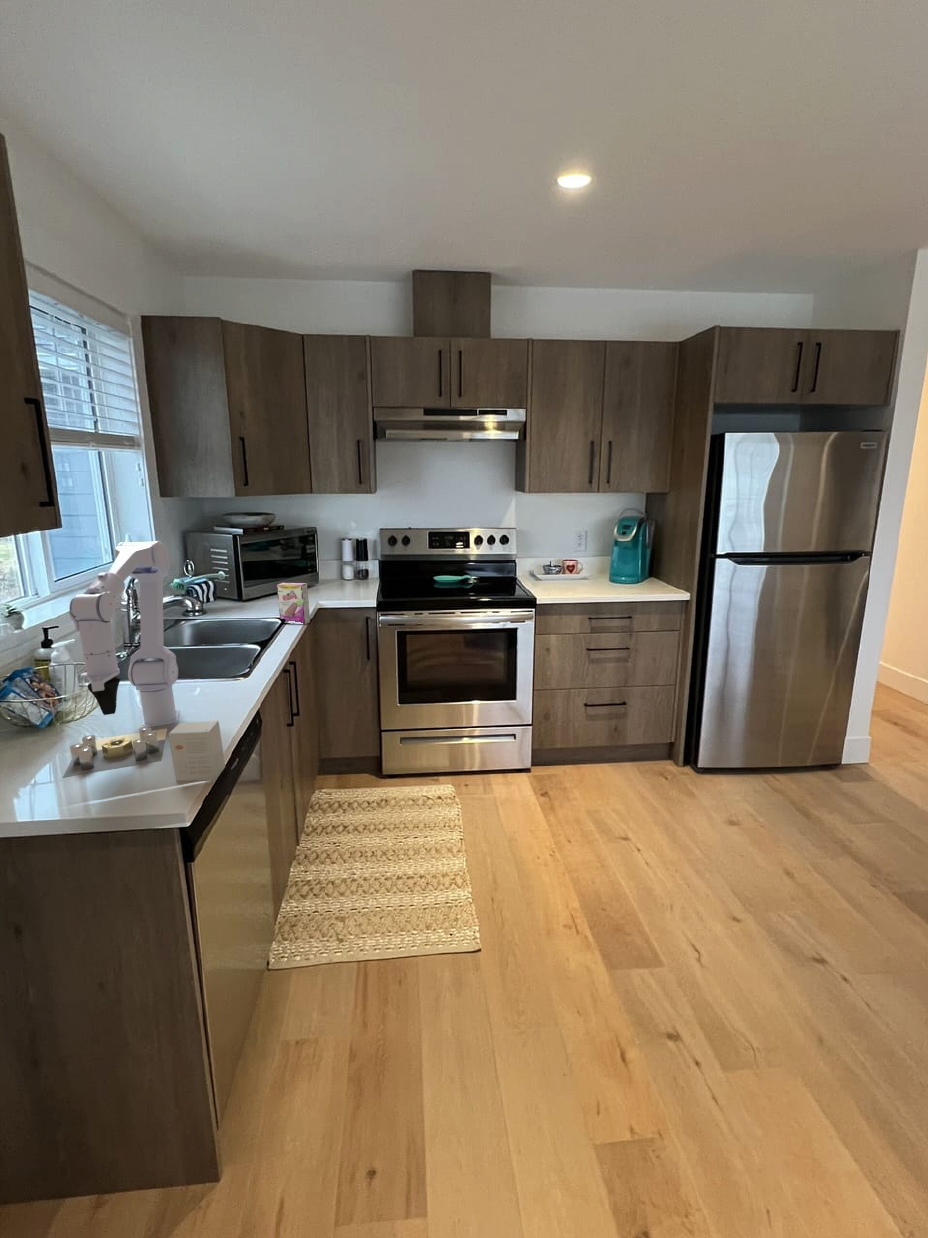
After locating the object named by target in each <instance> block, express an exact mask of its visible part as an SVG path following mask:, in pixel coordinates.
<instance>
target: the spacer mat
mask: <svg viewBox="0 0 928 1238" xmlns="http://www.w3.org/2000/svg"><path fill="white" fill-rule="evenodd" d="M151 732H156V733H157V739H158V745H159V751H158V752H156V753H152V754H148V753H147V755H148V758H147V759H145V760H142V761H136V760H135V755H134V749H133V752H131V753H130V754H128V755H127V756H125V757H121V758H115V759H108V758H106V757H104V756H103V750H102V745H103V744H104V743H106V742H108V741H110V740H112V739H118V738H125V737H126V738H128V739H130V740H132V742H133V741H134V740H137V739H140V735H139V732H134V733H129V734H123V735H117V736H109V737H102V738H97V739H96V738H95V741H96V746H97V752H98V754H97V755H95V756H93V760H94V765H95V766H94V767H93V768H92V769H89V770H82V769H81V765H80V766H74V765H73V761H72V759H71V760H70V762H69V765H67V767H66V770H65V772H64V774H63V775H62V778H63V779H64V778H69V777H74V776H75V777H76V776H80V775H87V774H93V773H98V772H104V771H109V770H116V769H122V768H128V767H134V766H139V765H145V764H151V763H155V762H161V761H162V758H163V753H164V749H165V748H164V747H165V743H166V738H167V734H168V733H167V732H168V728H162V729H161V728H160V729H154V730H151ZM80 743H82V744H83V742H82V741H80ZM132 746H133V743H132Z"/></svg>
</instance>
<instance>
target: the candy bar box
mask: <svg viewBox="0 0 928 1238" xmlns="http://www.w3.org/2000/svg"><path fill="white" fill-rule="evenodd" d="M276 588H277V599H278V601H277V602H278V610H279V620H280V619H285V620H288V621H295V622H301V623H303V624H304V625H303V626H305V625H308V624H310V623H311V613H310V603H309V592H308V583H305V582H304V583H303V582H281V583H278V584H276Z"/></svg>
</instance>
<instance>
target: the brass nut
mask: <svg viewBox="0 0 928 1238" xmlns="http://www.w3.org/2000/svg"><path fill="white" fill-rule="evenodd" d="M102 750H103V756H104V757H106V758H108V759H115V758H121V757H125V756H127V755H128V754H130V753H131V752H133V746H132V740H130V739H128V738H126V737H125V738H118V739H112V740H110V741H108V742H106V743H104V744H103V745H102Z"/></svg>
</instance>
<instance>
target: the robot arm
mask: <svg viewBox="0 0 928 1238" xmlns="http://www.w3.org/2000/svg"><path fill="white" fill-rule="evenodd" d="M114 558H115V559H114V561H113V563H112V564H111V566H110V567H109V570H108V571H105V572H99V573H98V574H97V577H95V579H94V580H93V582H92V583H90V585H89V586H88V587H87V589H86V590H85V591H84V592H83V593H81V594H79V593H78V594H77V595H76V596H74V597H72V599H70V602H69V610H68V614H69V617H70V619H71V620H72V621H73V623H74V625H75V626H74V627H75V630H76V632H79V636H80V637H79V638H80V643H81V648H82V654H83V660H84V666H85V670H86V672H81V674H80V679H87V681H89V683H88V684H87V689H88V691H89V692H90V693H91V694H92V695H93V696H94V698H95V699H96V701H97V704H98V706H99V708H100V710H101V713H102V715H103V716H108V715H114V714H115V713H116V711H117V696H118V691H119V690H118V689H119V684H120V682H121V679H122V677H121V676H119V675H120V674H121V673H120V672H121V671H120V668H119V665H118V660H117V659H118V658H117V654H116V653H117V652H116V646H115V641H114V636H113V634H114V633H113V628H112V619H113V618H114V616H115V613H116V612H115V611H116V610H115V609H116V607H117V600H118V599H119V597H121V596H122V593H123V592H124V591H125V588H126V583H125V581H126V580H127V579H128V578H129V577H130V578H133V579H136V580H137V581H138V583H139V587H140V589H139V598H140V599H139V602H140V603H139V605H140V606H139V607H140V608H139V609H140V611H139V612H140V616H139V617H140V620H139V621H140V648H139V649H137V650H136V651H135V652H134V653H133V654H131V656H130V660H129V667H128V671H127V678H128V681H129V683H130V684H131V685H132V686H133V687H135V689H136V691H138V692H139V696H140V702H141V710H142V716H143V720H142V722H141V726H140V728H142V727H151V728H152V727H157V726H165V725H172V724H177V723H178V721H179V715H180V709H179V708H176V704H175V698H174V692H173V691H174V690H173V689H174V688H173V685H174V684H175V683H176V682H177V680H178V678H179V677H178V676H179V666H178V664H177V656H176V654H175V653H174V652H172V651H171V650H170V649H168V648H167V647H166V646H164V578H166V577H168V576H169V553H168V550H167V548H166V545H165V544H164V543H163V542H162V540H161V541H160V540H155V541H136V542H135V541H134V542H132V541H131V542H123V541H121V542H119V543H118V544H117V546H116V547H115V548H114ZM148 659H156V660H148ZM157 659H159V660H157Z"/></svg>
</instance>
